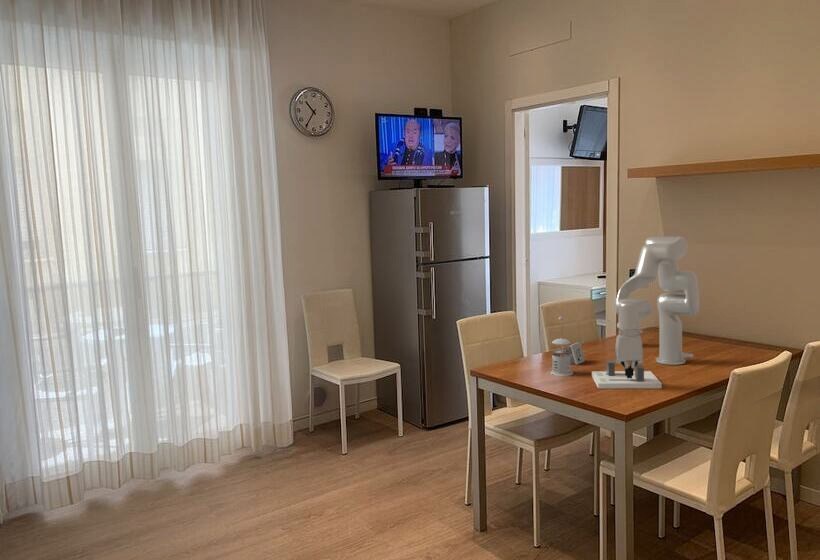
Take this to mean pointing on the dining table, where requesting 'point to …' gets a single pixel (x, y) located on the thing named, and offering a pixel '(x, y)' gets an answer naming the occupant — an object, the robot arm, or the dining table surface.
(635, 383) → the white slider control panel
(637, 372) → the handle
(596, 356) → the dining table surface
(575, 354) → the electrical switch
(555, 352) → the french press
